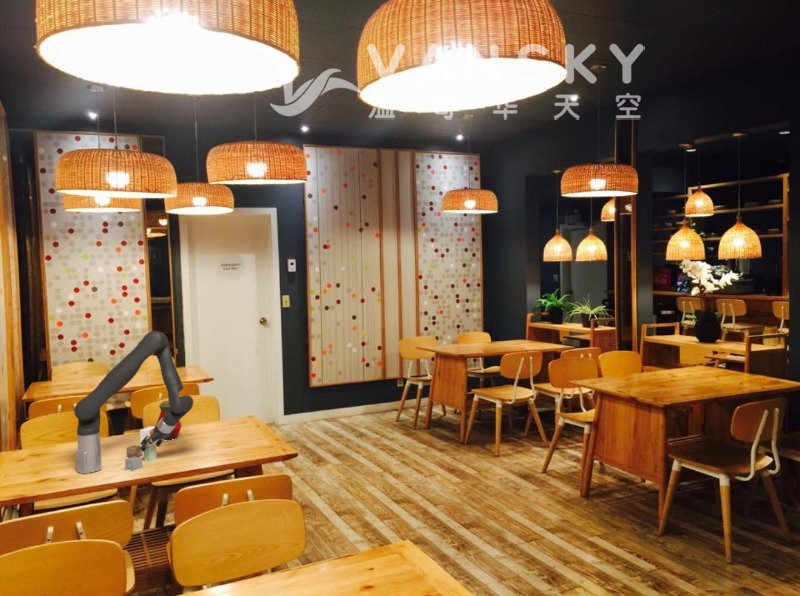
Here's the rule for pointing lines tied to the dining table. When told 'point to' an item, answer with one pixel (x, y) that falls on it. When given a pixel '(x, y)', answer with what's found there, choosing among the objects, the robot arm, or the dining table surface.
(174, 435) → the bottle
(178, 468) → the dining table surface
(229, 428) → the dining table surface
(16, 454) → the dining table surface
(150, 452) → the sage block
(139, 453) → the walnut block
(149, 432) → the small box
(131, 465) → the grey cube
